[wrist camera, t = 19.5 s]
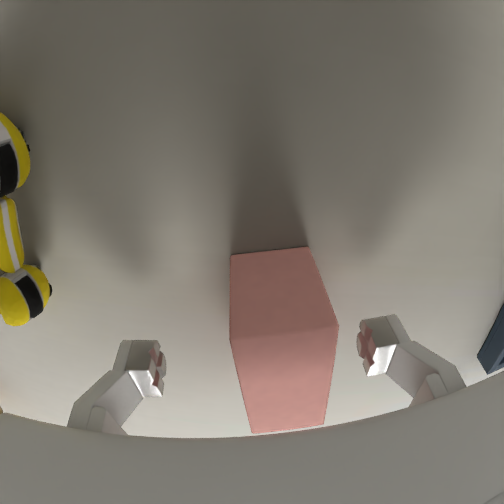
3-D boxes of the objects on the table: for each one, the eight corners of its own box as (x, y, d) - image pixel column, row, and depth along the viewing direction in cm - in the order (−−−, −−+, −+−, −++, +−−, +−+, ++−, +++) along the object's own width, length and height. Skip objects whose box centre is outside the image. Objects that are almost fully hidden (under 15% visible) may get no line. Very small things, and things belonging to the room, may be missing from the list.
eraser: (247, 358, 16) (251, 434, 12) (229, 254, 13) (229, 339, 9) (307, 350, 16) (324, 424, 12) (308, 245, 13) (340, 325, 9)
